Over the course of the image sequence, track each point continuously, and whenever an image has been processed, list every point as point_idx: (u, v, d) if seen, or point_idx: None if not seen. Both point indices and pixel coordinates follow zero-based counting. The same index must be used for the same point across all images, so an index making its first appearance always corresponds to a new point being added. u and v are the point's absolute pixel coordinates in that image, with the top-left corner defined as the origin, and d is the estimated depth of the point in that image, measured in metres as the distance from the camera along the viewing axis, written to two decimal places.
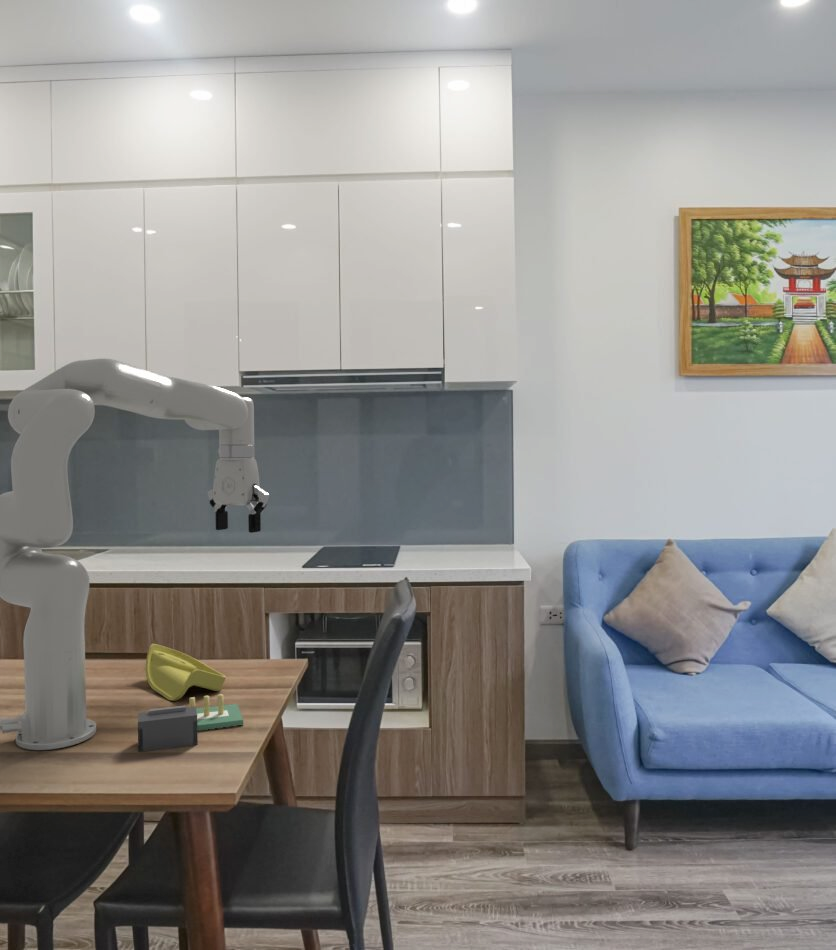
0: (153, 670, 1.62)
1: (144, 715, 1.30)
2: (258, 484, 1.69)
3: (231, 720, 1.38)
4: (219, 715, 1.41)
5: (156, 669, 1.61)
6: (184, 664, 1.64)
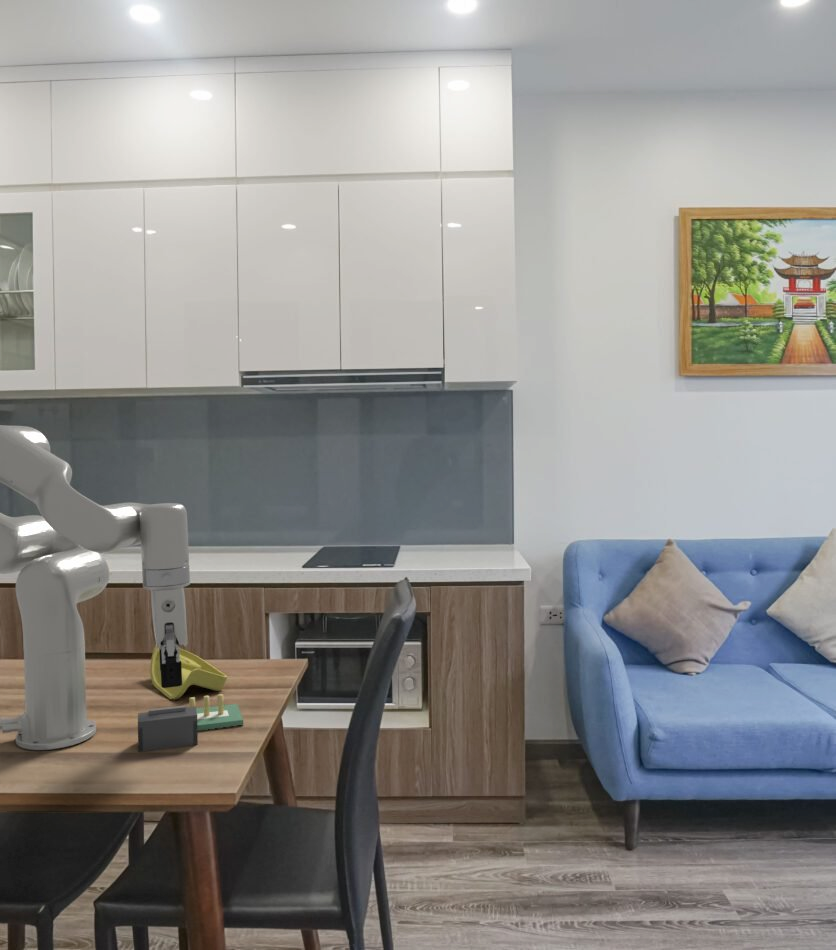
0: (157, 668, 1.63)
1: (144, 715, 1.30)
2: None
3: (231, 720, 1.38)
4: (219, 715, 1.41)
5: None
6: (188, 663, 1.65)
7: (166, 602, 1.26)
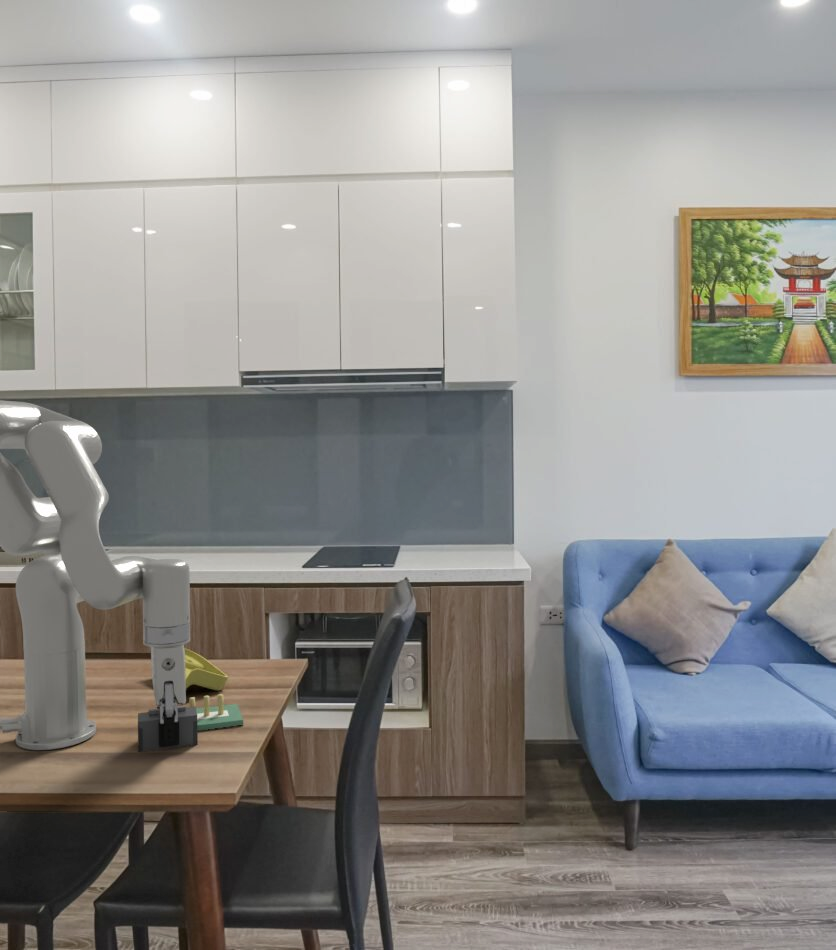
0: None
1: (144, 715, 1.30)
2: None
3: (231, 720, 1.38)
4: (219, 715, 1.41)
5: None
6: (190, 663, 1.65)
7: (166, 660, 1.26)
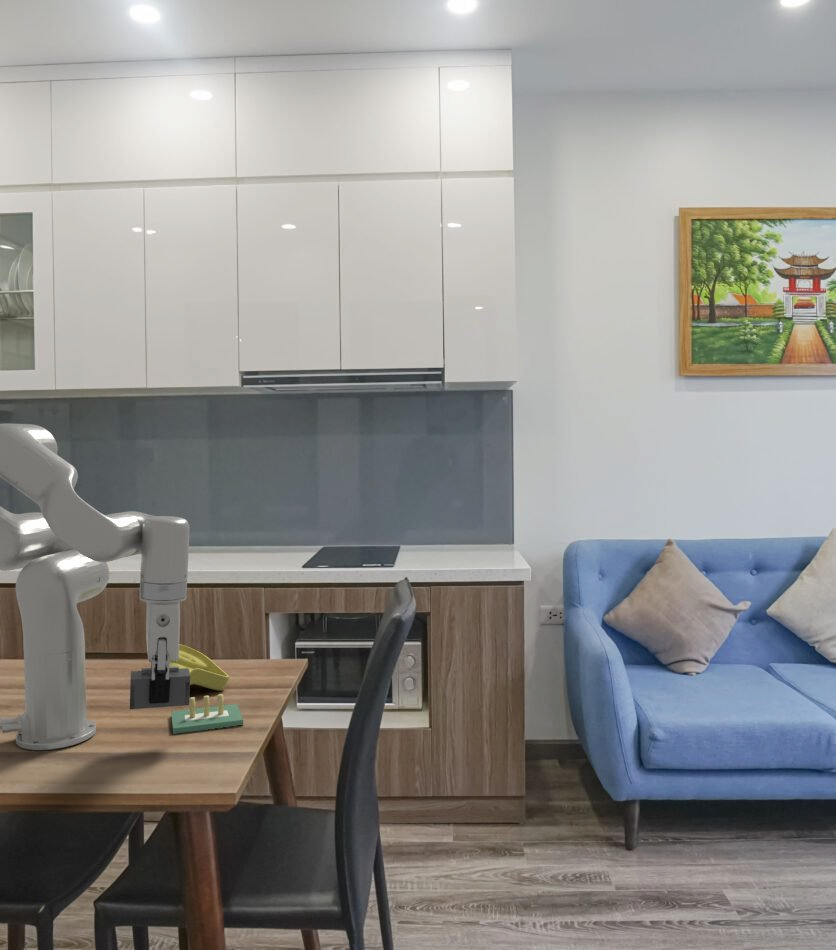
0: None
1: (137, 673, 1.30)
2: None
3: (231, 720, 1.38)
4: (219, 715, 1.41)
5: None
6: (194, 662, 1.66)
7: (161, 617, 1.26)
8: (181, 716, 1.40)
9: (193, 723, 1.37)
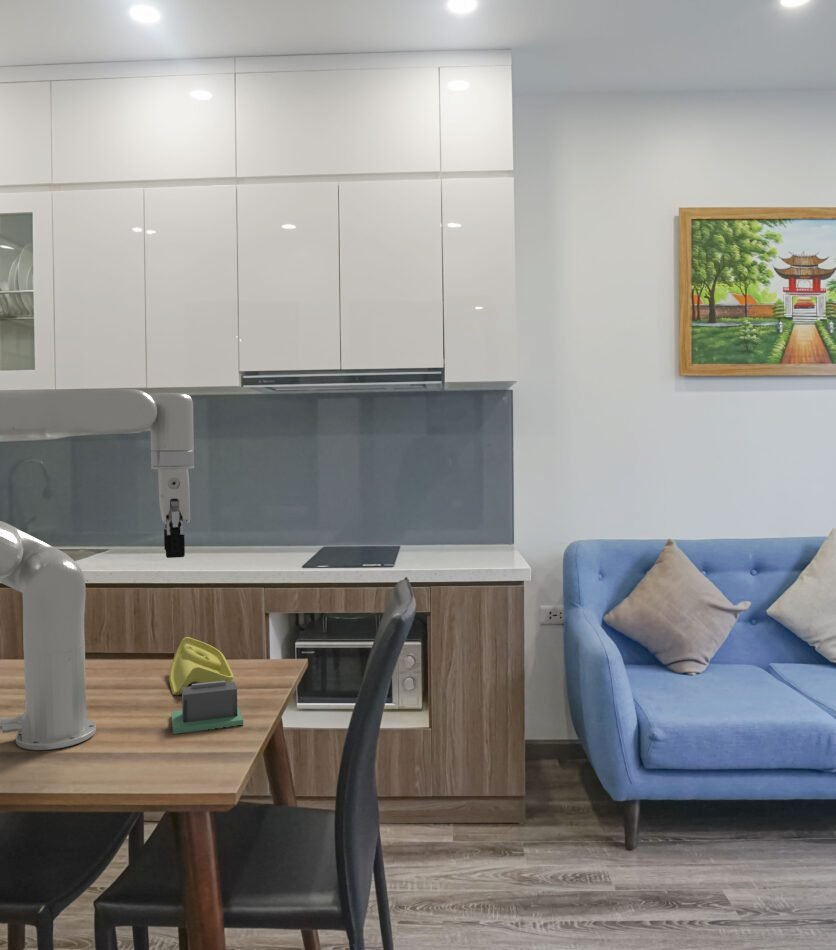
0: (177, 663, 1.67)
1: (188, 689, 1.40)
2: None
3: (231, 720, 1.38)
4: None
5: (179, 662, 1.66)
6: (206, 660, 1.67)
7: (172, 481, 1.38)
8: (181, 716, 1.40)
9: (193, 723, 1.37)
